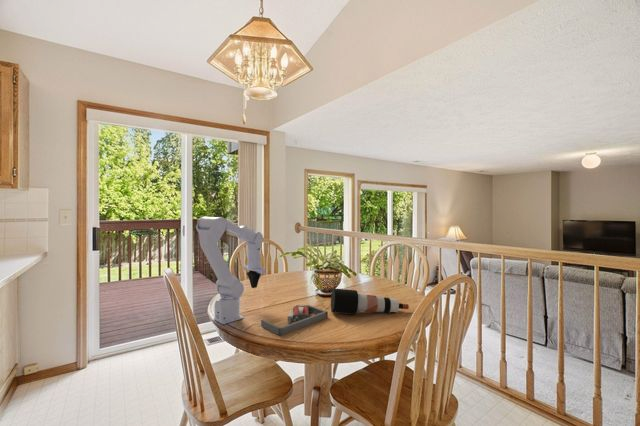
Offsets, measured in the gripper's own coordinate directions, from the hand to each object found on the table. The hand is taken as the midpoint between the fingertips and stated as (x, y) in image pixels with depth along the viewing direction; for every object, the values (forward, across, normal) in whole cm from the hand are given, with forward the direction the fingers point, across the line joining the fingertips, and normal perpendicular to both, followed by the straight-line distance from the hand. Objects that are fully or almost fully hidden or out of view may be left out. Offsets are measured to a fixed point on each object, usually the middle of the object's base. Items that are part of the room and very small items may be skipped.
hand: (254, 287), depth 135 cm
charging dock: (+9, -25, -3) cm, 27 cm away
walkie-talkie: (+10, -24, -6) cm, 27 cm away
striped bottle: (+10, -41, -33) cm, 53 cm away
